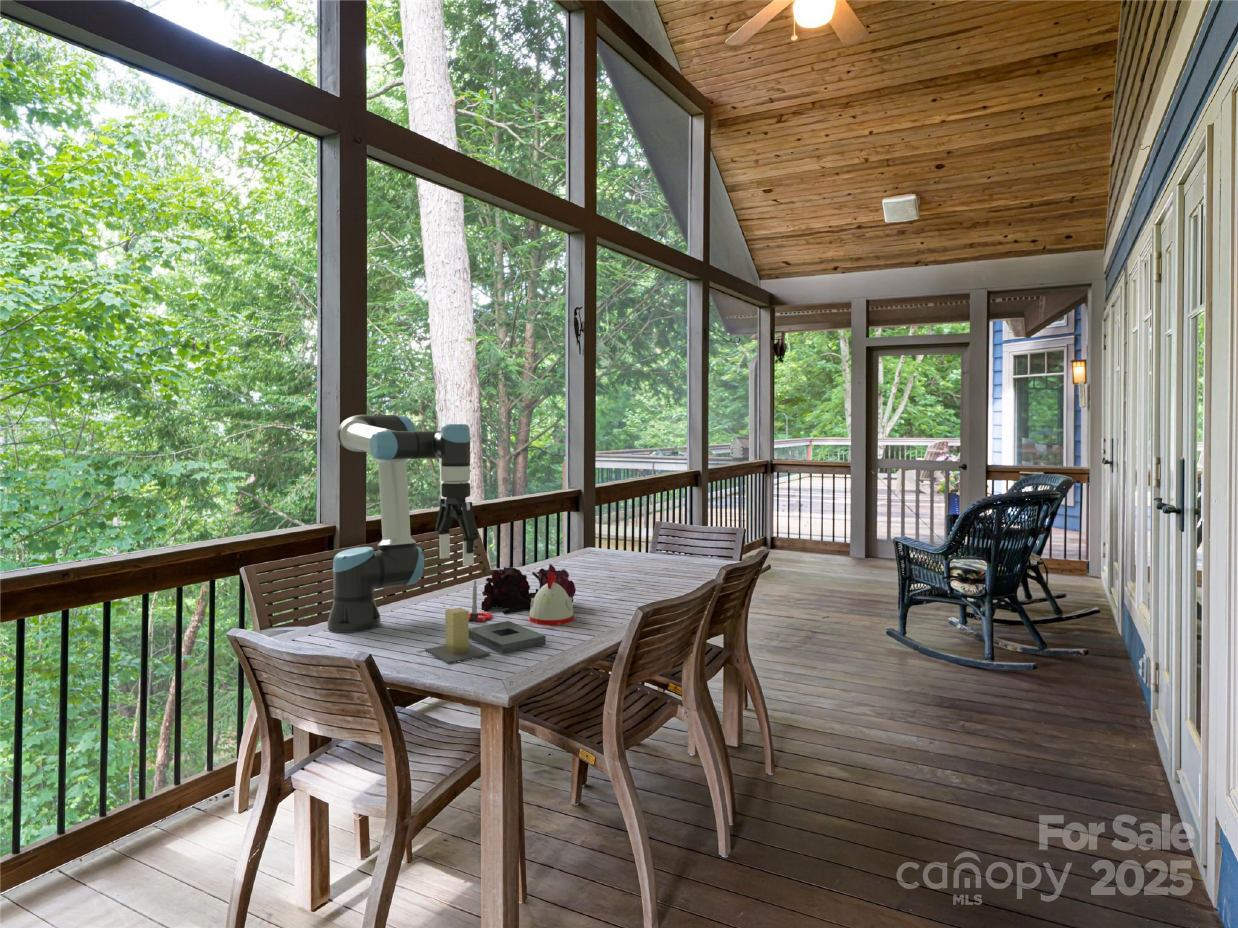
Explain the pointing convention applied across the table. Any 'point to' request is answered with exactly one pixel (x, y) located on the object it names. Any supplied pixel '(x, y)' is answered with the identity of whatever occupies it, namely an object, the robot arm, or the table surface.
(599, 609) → the table surface
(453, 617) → the brass plug
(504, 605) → the flower arrangement
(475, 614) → the tow hook
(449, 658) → the rubber mat
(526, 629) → the socket plate
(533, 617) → the kitchen timer
